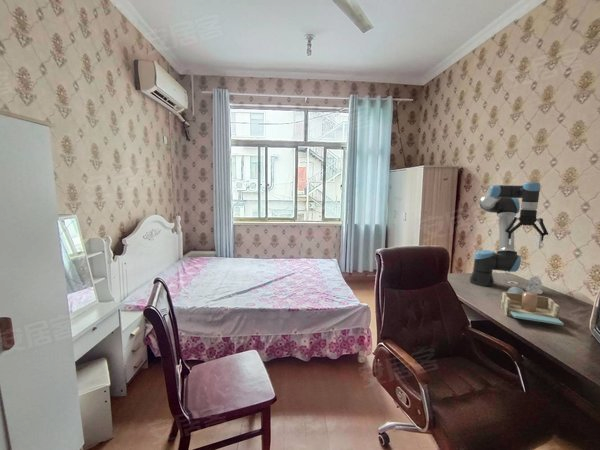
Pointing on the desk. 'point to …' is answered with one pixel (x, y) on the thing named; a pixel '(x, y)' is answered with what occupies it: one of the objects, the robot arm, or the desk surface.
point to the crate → (514, 304)
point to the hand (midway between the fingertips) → (524, 245)
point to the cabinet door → (536, 317)
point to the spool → (515, 290)
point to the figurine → (534, 285)
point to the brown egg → (529, 301)
